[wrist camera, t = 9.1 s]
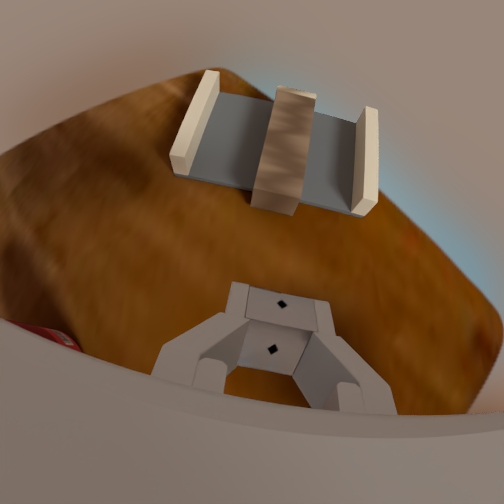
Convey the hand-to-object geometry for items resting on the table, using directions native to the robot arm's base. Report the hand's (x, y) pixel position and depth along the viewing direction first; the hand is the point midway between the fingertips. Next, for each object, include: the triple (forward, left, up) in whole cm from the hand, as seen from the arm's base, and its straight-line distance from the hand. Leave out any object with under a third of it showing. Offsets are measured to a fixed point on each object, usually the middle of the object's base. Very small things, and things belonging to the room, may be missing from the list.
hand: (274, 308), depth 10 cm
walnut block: (0, +13, -18) cm, 22 cm away
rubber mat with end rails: (0, +21, -21) cm, 30 cm away
